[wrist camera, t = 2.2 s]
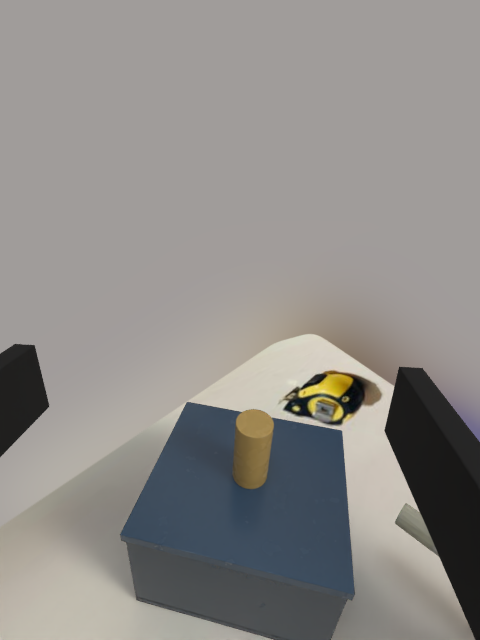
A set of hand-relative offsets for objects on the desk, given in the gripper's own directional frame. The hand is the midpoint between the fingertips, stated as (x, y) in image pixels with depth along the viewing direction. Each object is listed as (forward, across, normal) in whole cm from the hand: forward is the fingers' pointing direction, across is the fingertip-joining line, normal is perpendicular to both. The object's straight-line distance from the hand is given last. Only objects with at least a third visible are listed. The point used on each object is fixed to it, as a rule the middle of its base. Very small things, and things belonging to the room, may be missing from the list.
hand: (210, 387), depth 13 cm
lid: (+12, +1, -17) cm, 21 cm away
